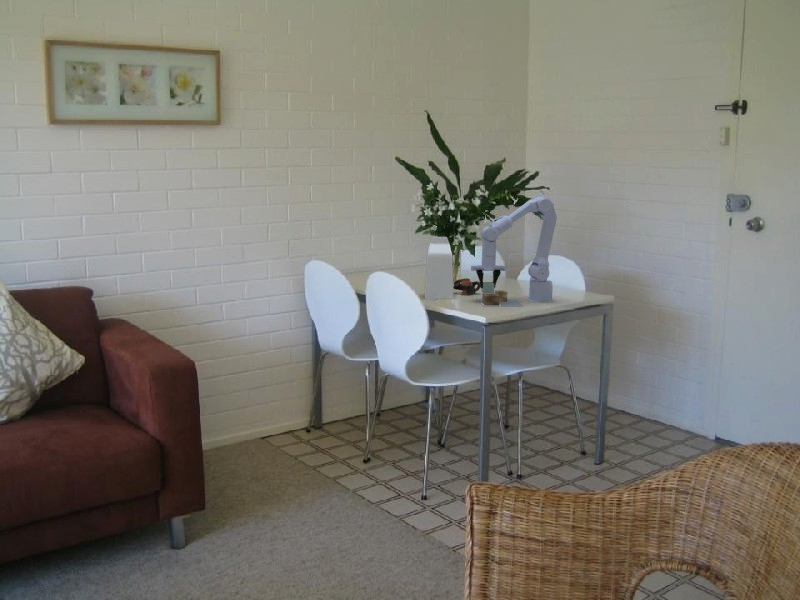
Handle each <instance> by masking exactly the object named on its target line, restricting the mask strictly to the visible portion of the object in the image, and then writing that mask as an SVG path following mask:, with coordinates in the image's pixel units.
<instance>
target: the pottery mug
mask: <svg viewBox="0 0 800 600" xmlns="http://www.w3.org/2000/svg"><path fill="white" fill-rule="evenodd" d="M476 285H477V287H476ZM480 289H481V288H480V281H479V280H478V281H477V280H476V281H471V279H470V278H467V277H466V278H461V279H460V278H459V279H457V280H455V281H453V290H458V291H461V295H462V296H474V294H476V292H478V291H479V290H480Z"/></svg>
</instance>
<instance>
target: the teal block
mask: <svg viewBox="0 0 800 600" xmlns="http://www.w3.org/2000/svg"><path fill="white" fill-rule="evenodd" d="M480 289H481V293H495V288H494V283H493V281H483V288H480Z"/></svg>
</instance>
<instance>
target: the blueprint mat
mask: <svg viewBox="0 0 800 600" xmlns="http://www.w3.org/2000/svg"><path fill="white" fill-rule="evenodd" d="M476 301H477V302H478V303H479V304H480V305H481V306H482V307H483V308H525V306H524V305H523V303H521V302H520V301H518V300H517V299H514V298H513V299H512V298H511V299H509V298H507V302H499V306H485V305H484V304H483V303H482V298H480V299H476Z"/></svg>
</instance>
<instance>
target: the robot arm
mask: <svg viewBox="0 0 800 600" xmlns="http://www.w3.org/2000/svg"><path fill="white" fill-rule="evenodd" d="M530 213H537V214H539V216H540V217H541V219H542V220H543V221H542V224H541V225H542V226H541V229H540V235H539V240H538V243H537V248H536V253H535V257H534V258H533V259H532V262H531V264H530V265H529V267H528V270H527V272H528V275H529V276H530V278H529V289H528V291H529V292H528V297H527V298H526V300H527V301H529V302H530V303H553V282H552V280H548V278H549V277H550V270H549V269H550V268H549V267H550V262H549V254H550V251H551V246H552V241H553V237H554V233H555V227H556V224H557V219H558V218H557V214H556V209H555V203H554V201H552V200H551V198H549V197H545V196H540V195H538V196H537V195H536V196H533V198H531V199H528V200H527V201H526V202H525V203H523V205H521V206H520V207H519V208H517V209H515V210H514V211H513V212H512V213H510V214H508V215H500V216H499V217H498V219H497V220H496V221H494V222H493V223H492V222H491V223H489V226H488V225H487V226H485V227H483V228H482V231H481V232H480V236H481V239H482V247H481V248H482V249H481V264H480V265H470V271H471V272H474V271H475V272H476V276H477V277H478V282H479V283H480V289H482V288H483V282H484V271H487V272H489V271H491V272H492V282H493V283H494V289H496V285H497V282H498V280H499V277H500V276H501V273H502V272H507V266H506V265H496V262H497V261H496V257H497V256H496V255H497V240H498V238H499V236H500V235H502V234H503V233H505V232H507V231H508V230H510V228H512V227H513V224H514V223H515V222H516V221H518V220H519V219H522V217H524V216H525V215H527V214H530Z"/></svg>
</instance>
